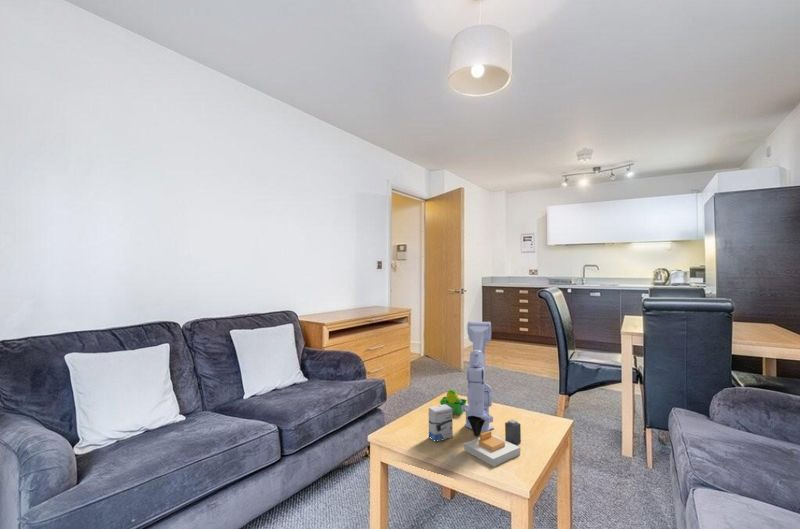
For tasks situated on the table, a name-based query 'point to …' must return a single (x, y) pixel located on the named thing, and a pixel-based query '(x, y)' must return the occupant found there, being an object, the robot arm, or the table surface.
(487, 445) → the tan slab
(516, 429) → the plug
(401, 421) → the table surface
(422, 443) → the table surface
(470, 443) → the socket
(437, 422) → the ink box
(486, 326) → the robot arm
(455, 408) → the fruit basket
